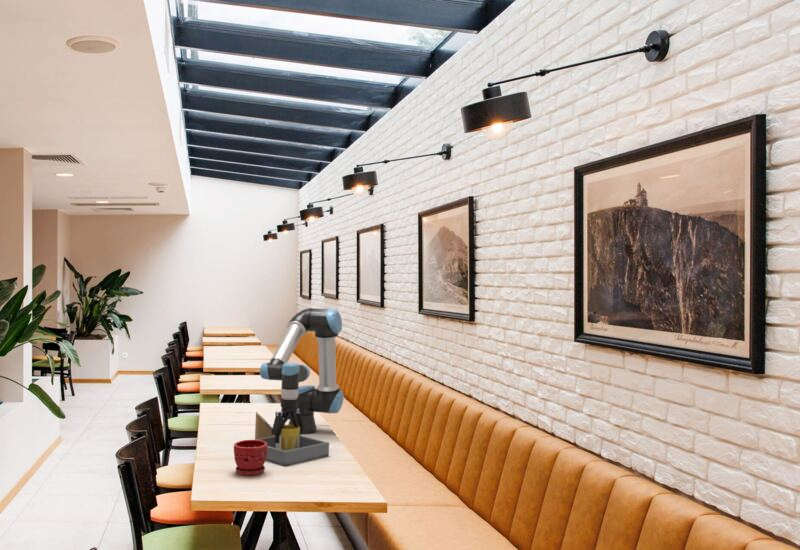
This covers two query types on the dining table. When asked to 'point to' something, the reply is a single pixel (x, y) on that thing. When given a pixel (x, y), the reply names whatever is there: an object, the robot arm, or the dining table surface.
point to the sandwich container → (262, 428)
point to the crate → (295, 451)
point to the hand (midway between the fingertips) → (287, 448)
